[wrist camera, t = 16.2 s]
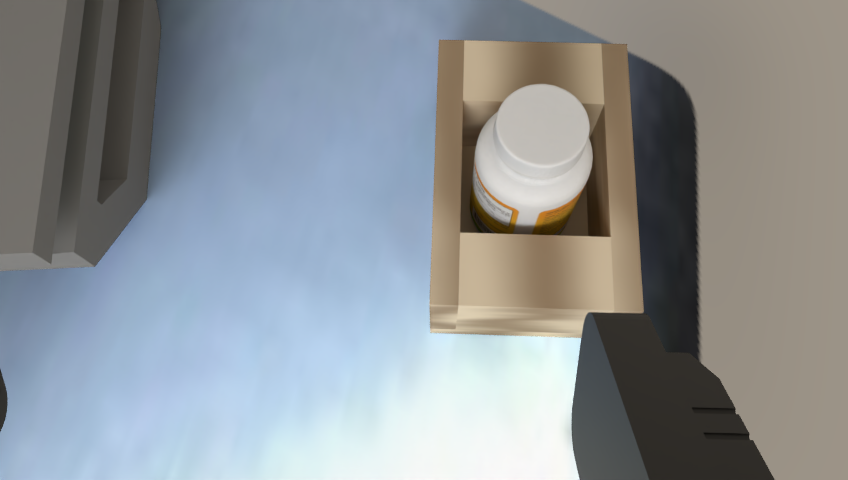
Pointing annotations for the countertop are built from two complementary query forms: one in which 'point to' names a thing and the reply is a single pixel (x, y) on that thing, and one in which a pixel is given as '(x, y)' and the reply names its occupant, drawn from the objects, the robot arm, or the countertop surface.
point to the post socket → (519, 253)
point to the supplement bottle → (531, 163)
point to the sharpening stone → (73, 126)
